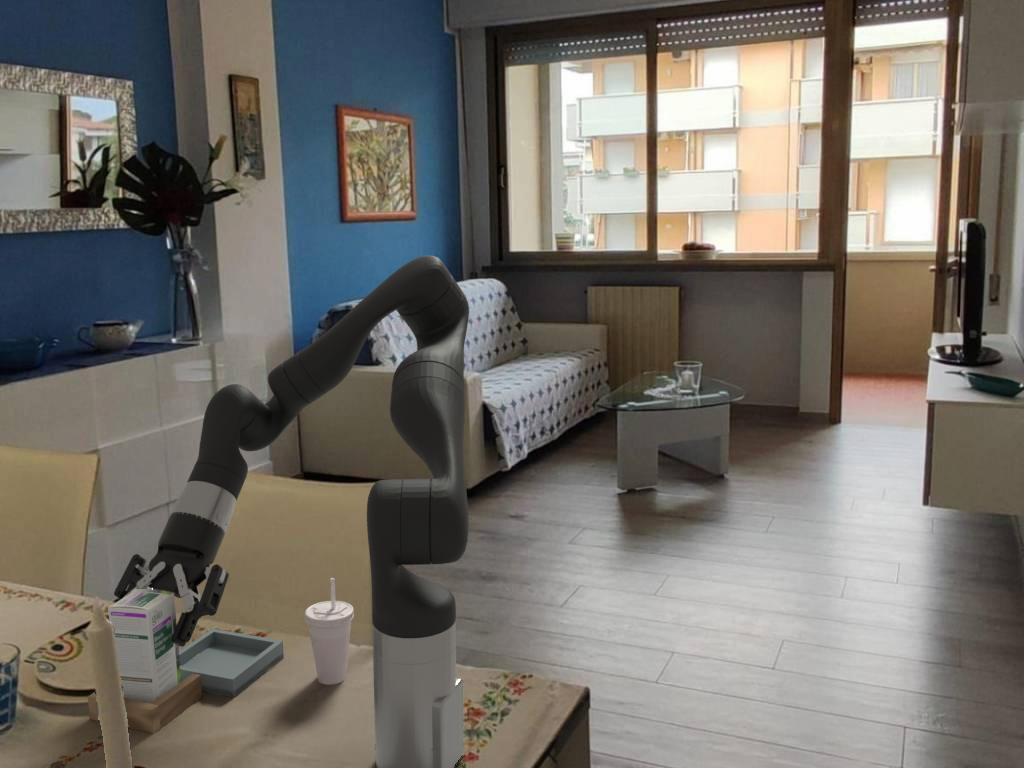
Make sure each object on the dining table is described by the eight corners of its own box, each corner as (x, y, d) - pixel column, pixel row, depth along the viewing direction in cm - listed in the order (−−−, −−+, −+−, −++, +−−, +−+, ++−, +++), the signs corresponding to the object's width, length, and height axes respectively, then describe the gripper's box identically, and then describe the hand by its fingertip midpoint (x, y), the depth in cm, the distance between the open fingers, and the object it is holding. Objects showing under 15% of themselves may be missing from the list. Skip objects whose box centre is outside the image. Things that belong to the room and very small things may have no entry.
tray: (283, 657, 135) (282, 640, 135) (234, 697, 124) (232, 679, 124) (213, 644, 139) (212, 628, 138) (159, 682, 128) (158, 664, 128)
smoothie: (360, 684, 128) (357, 584, 125) (311, 693, 125) (307, 591, 123) (350, 663, 134) (347, 567, 131) (303, 671, 131) (299, 573, 129)
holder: (201, 696, 125) (200, 675, 124) (153, 733, 116) (152, 710, 116) (140, 684, 128) (139, 663, 127) (89, 719, 119) (87, 696, 119)
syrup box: (159, 719, 119) (151, 609, 116) (115, 714, 120) (106, 605, 118) (183, 696, 125) (176, 590, 122) (141, 691, 126) (133, 586, 123)
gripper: (257, 540, 130) (211, 657, 122) (169, 529, 135) (119, 642, 127) (230, 515, 124) (180, 637, 116) (139, 505, 129) (85, 621, 121)
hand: (148, 639), depth 121 cm, fingers open, 8 cm apart
